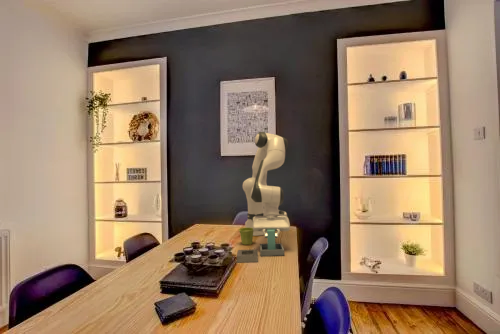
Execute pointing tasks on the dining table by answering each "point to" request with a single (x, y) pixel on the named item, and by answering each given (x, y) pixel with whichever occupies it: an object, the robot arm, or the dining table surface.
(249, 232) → the plant pot
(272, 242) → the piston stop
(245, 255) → the grey flat square block
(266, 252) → the parts tray
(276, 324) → the dining table surface
